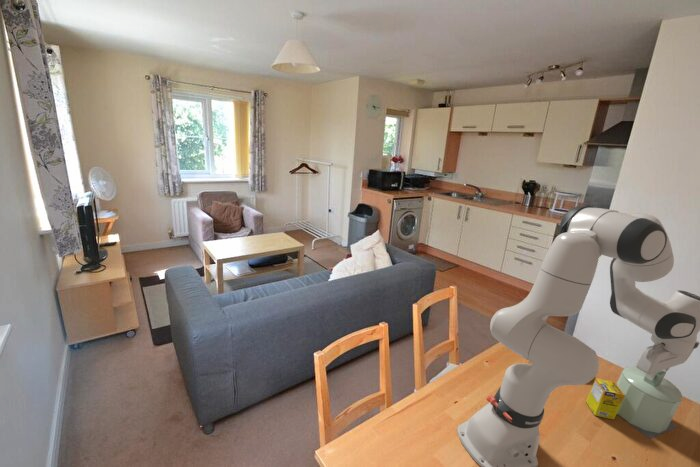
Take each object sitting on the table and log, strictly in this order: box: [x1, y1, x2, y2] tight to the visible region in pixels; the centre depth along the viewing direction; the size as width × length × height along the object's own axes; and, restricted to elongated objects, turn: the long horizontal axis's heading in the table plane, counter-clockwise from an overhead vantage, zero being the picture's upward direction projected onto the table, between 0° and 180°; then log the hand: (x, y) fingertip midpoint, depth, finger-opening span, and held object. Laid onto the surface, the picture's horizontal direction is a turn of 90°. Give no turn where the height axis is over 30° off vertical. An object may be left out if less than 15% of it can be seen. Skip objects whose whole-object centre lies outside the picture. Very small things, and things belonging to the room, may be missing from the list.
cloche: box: [616, 366, 683, 433], centre depth 103 cm, size 14×14×18 cm
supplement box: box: [585, 377, 625, 421], centre depth 104 cm, size 6×6×11 cm
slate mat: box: [616, 414, 678, 440], centre depth 106 cm, size 15×15×1 cm
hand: (654, 377), depth 101 cm, fingers closed on cloche, 3 cm apart
